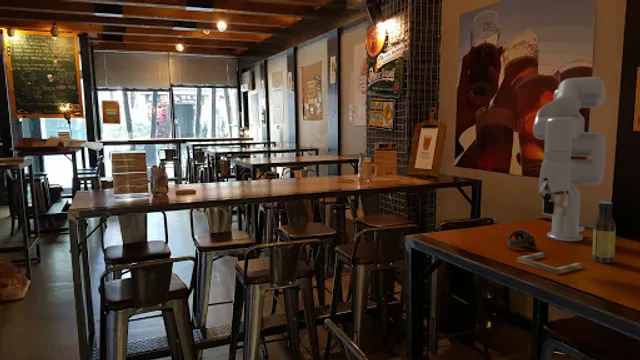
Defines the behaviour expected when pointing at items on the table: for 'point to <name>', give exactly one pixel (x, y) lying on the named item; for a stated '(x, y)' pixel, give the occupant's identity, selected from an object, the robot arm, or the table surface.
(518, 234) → the broken clay pot rim
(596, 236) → the sauce bottle
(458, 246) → the table surface
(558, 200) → the birch block
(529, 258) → the oak bay
